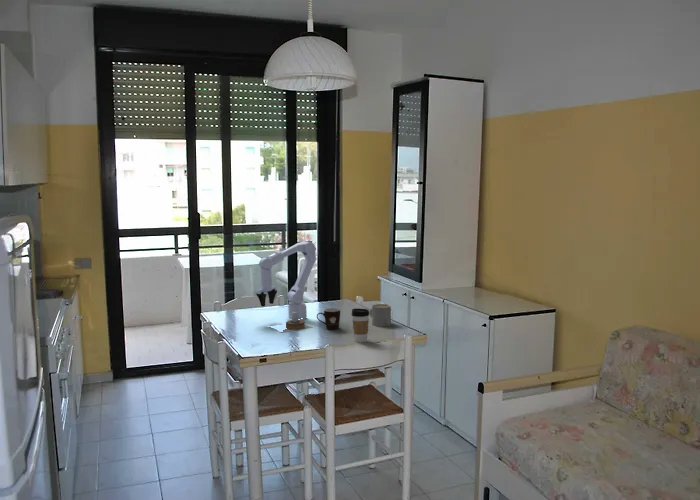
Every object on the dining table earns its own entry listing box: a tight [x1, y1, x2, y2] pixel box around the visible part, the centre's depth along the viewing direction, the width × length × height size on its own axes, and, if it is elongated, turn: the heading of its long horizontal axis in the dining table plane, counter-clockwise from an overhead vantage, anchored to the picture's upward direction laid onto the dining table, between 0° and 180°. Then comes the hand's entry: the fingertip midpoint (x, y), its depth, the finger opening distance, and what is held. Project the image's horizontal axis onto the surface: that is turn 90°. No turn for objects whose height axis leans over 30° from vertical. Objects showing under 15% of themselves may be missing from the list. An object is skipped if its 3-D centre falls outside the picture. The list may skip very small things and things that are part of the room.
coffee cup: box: [351, 308, 370, 343], centre depth 271 cm, size 8×8×15 cm
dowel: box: [292, 312, 298, 323], centre depth 300 cm, size 3×3×8 cm
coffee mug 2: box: [369, 303, 392, 327], centre depth 305 cm, size 13×10×10 cm
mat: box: [280, 324, 314, 334], centre depth 301 cm, size 18×18×1 cm
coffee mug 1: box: [316, 307, 341, 331], centre depth 296 cm, size 12×9×10 cm
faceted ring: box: [285, 319, 306, 331], centre depth 300 cm, size 9×9×3 cm
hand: (267, 304), depth 312 cm, fingers open, 7 cm apart
